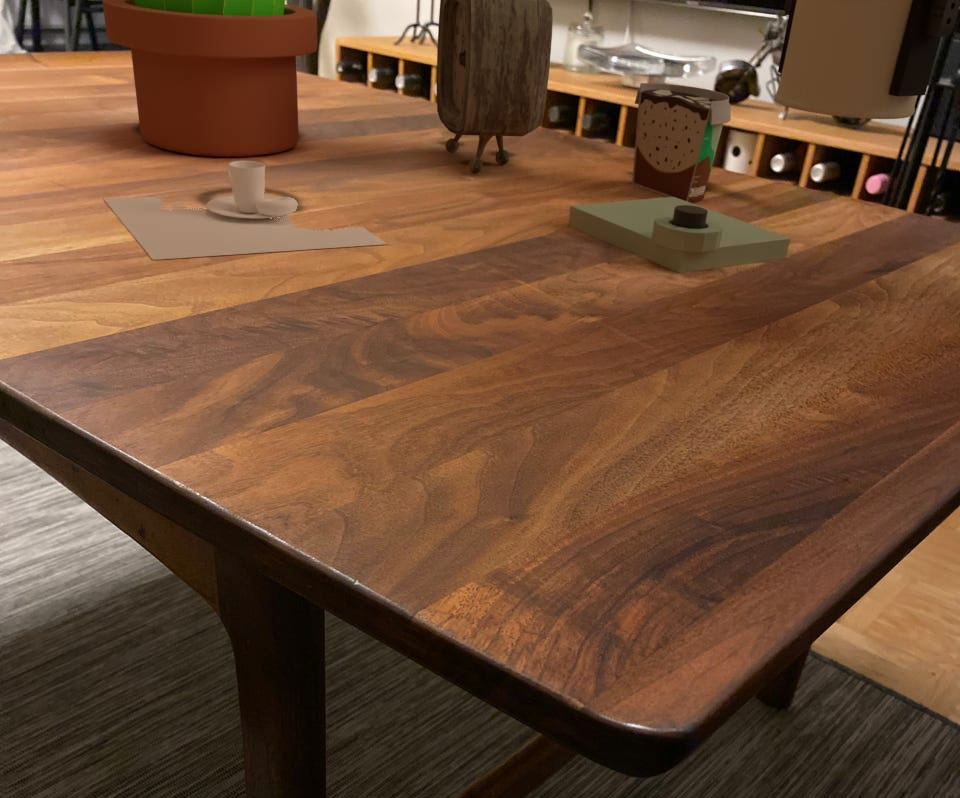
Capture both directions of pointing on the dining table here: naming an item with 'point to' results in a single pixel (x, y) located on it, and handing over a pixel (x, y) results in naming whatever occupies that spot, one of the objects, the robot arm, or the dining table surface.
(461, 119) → the tabletop clock
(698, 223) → the tare button
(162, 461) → the dining table surface
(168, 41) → the potted cactus
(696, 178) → the food container
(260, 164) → the teacup and saucer
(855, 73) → the can
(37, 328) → the dining table surface
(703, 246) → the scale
